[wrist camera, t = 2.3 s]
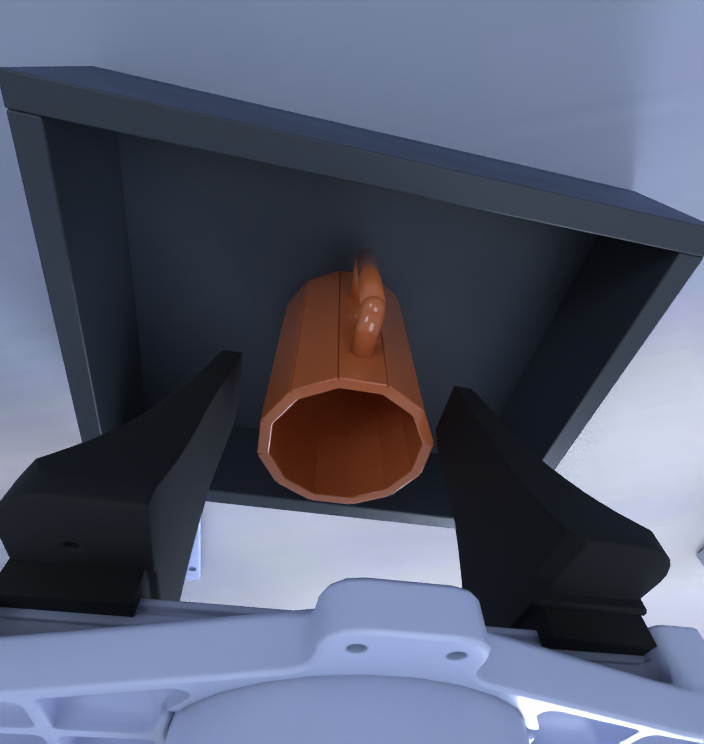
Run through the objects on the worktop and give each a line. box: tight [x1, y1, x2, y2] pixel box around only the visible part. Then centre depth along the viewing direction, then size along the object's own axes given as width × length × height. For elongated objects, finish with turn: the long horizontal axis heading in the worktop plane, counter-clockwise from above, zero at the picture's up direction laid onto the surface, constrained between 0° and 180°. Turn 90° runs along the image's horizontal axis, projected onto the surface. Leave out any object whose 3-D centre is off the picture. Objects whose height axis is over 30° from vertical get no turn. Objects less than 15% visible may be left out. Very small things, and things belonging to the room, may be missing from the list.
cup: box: [257, 247, 434, 504], centre depth 15 cm, size 7×5×7 cm
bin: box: [0, 66, 704, 529], centre depth 17 cm, size 15×19×4 cm
